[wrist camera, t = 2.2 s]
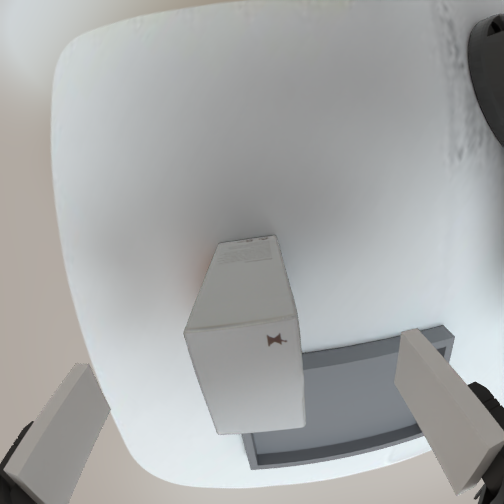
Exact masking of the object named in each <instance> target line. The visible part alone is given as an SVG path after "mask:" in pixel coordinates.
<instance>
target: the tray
mask: <svg viewBox="0 0 504 504" xmlns="http://www.w3.org/2000/svg"><path fill="white" fill-rule="evenodd" d="M420 332H421V333H422V334H423V335H424V336H425V337H426V338H427V340H428V341H429V342H430V343H431V344H432V345H433V346H434V347H435V348H436V350H437V351H438V352H439V353H440V354H441V355H442V356H443V358H444V359H445V360H446V361H447V362H448V363H449V360H450V356H451V352H452V348H453V343H454V338H455V336H454V335H453V334H452V333H451V332H450V331H449V330H448V329H447V328H446V327H445V326H444V325H442V326H439V327H435V328H431V329H427V330H423V331H420ZM400 339H401V336H398V337H393V338H389V339H384V340H379V341H374V342H369V343H364V344H359V345H354V346H348V347H342V348H337V349H331V350H324V351H318V352H311V353H304V354H302V361H303V374H304V398H305V414H306V425H305V426H304V427H302V428H294V429H285V430H276V431H267V432H256V433H243V434H242V437H243V441H244V445H245V449H246V453H247V457H248V461H249V464H250V468H251V470H256V469H269V468H280V467H289V466H297V465H305V464H311V463H318V462H324V461H330V460H335V459H340V458H345V457H350V456H354V455H359V454H363V453H367V452H371V451H375V450H379V449H383V448H387V447H390V446H394V445H397V444H400V443H404V442H407V441H410V440H413V439H416V438H419V437H422V436H424V434H423V432H422V430H421V429H420V427H419V425H418V423H417V421H416V420H415V418H414V416H413V414H412V413H411V411H410V409H409V408H408V406H407V404H406V402H405V401H404V399H403V397H402V396H401V394H400V392H399V390H398V389H397V387H396V385H395V384H394V380H395V374H396V368H397V361H398V354H399V347H400Z"/></svg>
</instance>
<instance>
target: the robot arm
mask: <svg viewBox="0 0 504 504" xmlns="http://www.w3.org/2000/svg"><path fill="white" fill-rule="evenodd" d="M469 65H470V71H471V76H472V81H473V84H474V88H475V91H476V95H477V97H478V100H479V103H480V106H481V108H482V110H483V113H484V115H485V117H486V119H487V121H488V123H489V125H490V127H491V129H492V130H493V132H494V134H495V135H496V137H497V138H498V140H499V141H500V143H501V144H502V145H503V146H504V14H498V15H494V16H491V17H489V18H487V19H485V20H483V21H481V22H479V23H478V24H477V25H476V26H475V27H474V29H473V31H472V33H471V36H470V41H469ZM394 384H395V385H396V387H397V389H398V390H399V392H400V394H401V396H402V397H403V399H404V401H405V402H406V404H407V406H408V408H409V409H410V411H411V413H412V414H413V416H414V418H415V420H416V421H417V423H418V425H419V427H420V429H421V430H422V432H423V434H424V436H425V438H426V439H427V441H428V443H429V445H430V447H431V448H432V450H433V452H434V454H435V456H436V458H437V460H438V461H439V463H440V465H441V467H442V469H443V471H444V473H445V475H446V476H447V479H448V480H449V482H450V484H451V486H452V488H453V490H454V492H455V494H456V496H458V495H460V494H462V493H464V492H466V491H468V490H470V489H472V488H474V487H475V486H476V485H477V483H478V482H479V480H480V479H481V478H482V479H483V481H484V483H485V484H484V485H483V486H482V488H481V489H480V490H479V492H478V493H477V494H476V496H475V498H474V499H477V498H478V497H479V496H480V498H479V502H478V504H504V408H503V407H502V405H501V406H500V403H499V402H498V401H497V399H496V398H495V399H494V396H493V395H492V394H491V393H490V391H489V390H488V389H487V388H486V387H484V386H482V385H481V384H479V383H477V382H473V383H471V384H469V385H467V384H466V383H465V382H464V381H463V380H462V378H461V377H460V376H459V375H458V374H457V373H456V371H455V370H454V369H453V368H452V367H451V366H450V364H449V363H448V362H447V361H446V360H445V359H444V358H443V356H442V355H441V354H440V353H439V352H438V351H437V350H436V348H435V347H434V346H433V345H432V344H431V343H430V342H429V341H428V340H427V338H426V337H425V336H424V335H423V334H422V333H421V332H420V331H419V330H418V329H417V328H416V329H411V330H407V331H403V332H401V339H400V347H399V354H398V361H397V368H396V374H395V380H394ZM110 410H111V409H110V407H109V405H108V403H107V401H106V399H105V397H104V395H103V393H102V391H101V389H100V386H99V384H98V382H97V380H96V378H95V376H94V374H93V371H92V369H91V367H90V365H89V364H75V365H74V367H73V368H72V369H71V371H70V372H69V373H68V375H67V376H66V378H65V379H64V380H63V381H62V383H61V384H60V386H59V387H58V388H57V390H56V391H55V393H54V394H53V395H52V397H51V398H50V400H49V401H48V403H47V404H46V405H45V407H44V408H43V410H42V411H41V413H40V414H39V415H38V417H37V418H36V420H35V421H34V422H33V421H32V422H31V423H30V424H28V425H27V426H26V427H25V428H24V429H23V430H22V431H21V433H20V434H19V436H18V439H16V441H15V442H14V445H12V446H11V448H10V449H9V451H8V453H7V454H6V456H5V457H4V459H3V461H2V462H1V464H0V504H68V503H69V500H70V498H71V496H72V494H73V491H74V489H75V487H76V484H77V482H78V480H79V477H80V475H81V473H82V470H83V468H84V466H85V463H86V462H87V459H88V457H89V455H90V453H91V451H92V448H93V446H94V444H95V442H96V440H97V438H98V435H99V433H100V431H101V429H102V427H103V425H104V423H105V420H106V419H107V417H108V414H109V412H110Z"/></svg>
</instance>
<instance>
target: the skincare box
mask: <svg viewBox="0 0 504 504" xmlns="http://www.w3.org/2000/svg"><path fill="white" fill-rule="evenodd" d="M184 337H185V340H186V344H187V347H188V351H189V354H190V357H191V360H192V363H193V367H194V370H195V373H196V376H197V379H198V382H199V385H200V388H201V390H202V393H203V396H204V398H205V401H206V404H207V406H208V409H209V412H210V415H211V418H212V420H213V423H214V426H215V428H216V432H217V434H218V435H226V434H243V433H256V432H267V431H276V430H285V429H294V428H302V427H304V426H305V425H306V414H305V398H304V374H303V361H302V351H301V339H300V330H299V321H298V315H297V310H296V305H295V301H294V297H293V294H292V291H291V287H290V284H289V280H288V276H287V272H286V269H285V265H284V262H283V258H282V255H281V250H280V247H279V243H278V240H277V237H276V235H274V236H266V237H259V238H252V239H245V240H239V241H232V242H224V243H219V244H218V246H217V249H216V251H215V254H214V256H213V259H212V261H211V264H210V266H209V269H208V271H207V273H206V276H205V279H204V281H203V284H202V286H201V289H200V291H199V294H198V296H197V299H196V301H195V304H194V306H193V309H192V312H191V314H190V317H189V319H188V322H187V325H186V327H185V330H184Z"/></svg>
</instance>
